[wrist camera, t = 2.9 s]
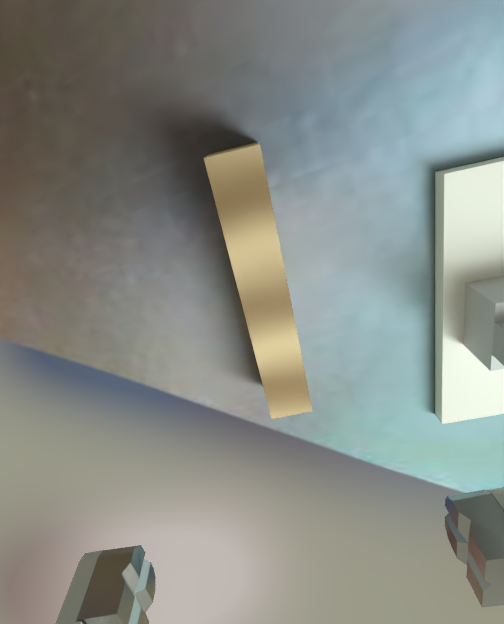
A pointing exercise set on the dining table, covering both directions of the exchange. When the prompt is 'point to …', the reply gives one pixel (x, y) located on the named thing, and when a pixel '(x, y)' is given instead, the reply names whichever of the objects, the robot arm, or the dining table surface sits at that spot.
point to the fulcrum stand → (469, 291)
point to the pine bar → (260, 274)
